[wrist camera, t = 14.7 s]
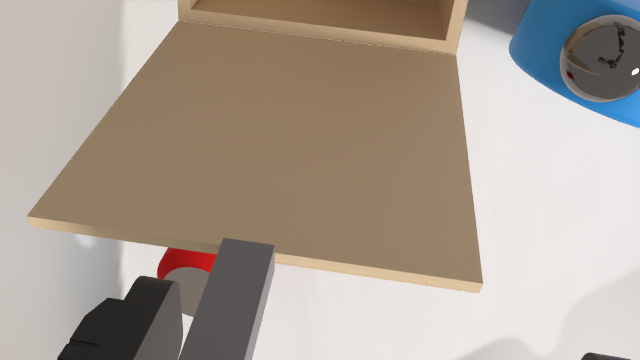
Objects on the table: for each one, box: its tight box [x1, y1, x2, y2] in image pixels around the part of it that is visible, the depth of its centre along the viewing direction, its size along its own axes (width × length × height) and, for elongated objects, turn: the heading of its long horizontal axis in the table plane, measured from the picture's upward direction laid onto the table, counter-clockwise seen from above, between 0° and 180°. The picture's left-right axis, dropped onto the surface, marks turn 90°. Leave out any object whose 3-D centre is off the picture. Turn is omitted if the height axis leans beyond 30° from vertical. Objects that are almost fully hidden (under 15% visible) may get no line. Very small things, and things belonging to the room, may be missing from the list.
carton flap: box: [27, 21, 483, 360], centre depth 26 cm, size 24×18×2 cm
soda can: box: [157, 247, 217, 317], centre depth 50 cm, size 8×8×12 cm
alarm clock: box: [509, 0, 640, 128], centre depth 35 cm, size 13×6×15 cm, turn 74°
